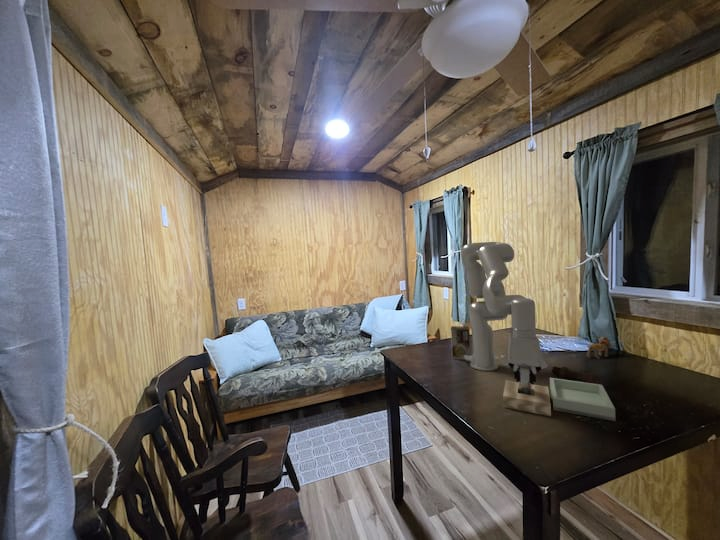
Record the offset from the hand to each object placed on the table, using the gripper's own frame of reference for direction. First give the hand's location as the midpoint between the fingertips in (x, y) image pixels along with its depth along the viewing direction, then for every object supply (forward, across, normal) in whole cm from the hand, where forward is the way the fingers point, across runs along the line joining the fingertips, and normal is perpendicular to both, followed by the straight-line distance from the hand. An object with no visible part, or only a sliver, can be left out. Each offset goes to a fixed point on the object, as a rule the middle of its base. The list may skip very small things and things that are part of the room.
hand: (525, 381), depth 102 cm
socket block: (+7, 0, 0) cm, 7 cm away
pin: (+5, 0, 0) cm, 5 cm away
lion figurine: (+8, +31, +62) cm, 70 cm away
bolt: (+8, +17, +27) cm, 33 cm away
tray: (+7, +16, +7) cm, 19 cm away
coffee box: (+8, -30, +36) cm, 48 cm away
